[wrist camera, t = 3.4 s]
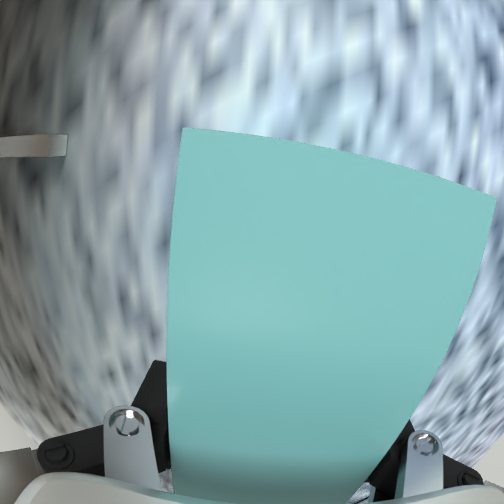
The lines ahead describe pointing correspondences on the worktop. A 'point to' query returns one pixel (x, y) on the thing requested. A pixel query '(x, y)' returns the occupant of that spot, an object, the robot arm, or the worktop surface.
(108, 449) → the robot arm
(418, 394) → the teal rectangular block
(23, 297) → the worktop surface
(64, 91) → the worktop surface
